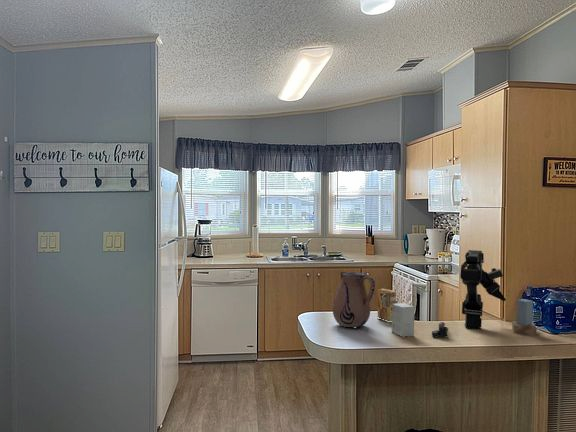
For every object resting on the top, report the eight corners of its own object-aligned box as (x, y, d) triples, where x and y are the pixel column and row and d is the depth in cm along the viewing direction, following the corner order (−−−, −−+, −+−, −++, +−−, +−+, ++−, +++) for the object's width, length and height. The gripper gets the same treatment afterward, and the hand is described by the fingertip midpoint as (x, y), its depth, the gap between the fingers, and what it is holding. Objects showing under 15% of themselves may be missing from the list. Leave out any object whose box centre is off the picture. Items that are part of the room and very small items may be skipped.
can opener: (447, 340, 191) (448, 327, 191) (430, 338, 194) (431, 325, 194) (451, 330, 207) (451, 318, 207) (435, 328, 210) (435, 316, 210)
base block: (513, 334, 204) (514, 325, 204) (512, 329, 212) (512, 321, 212) (536, 336, 201) (536, 327, 200) (533, 331, 209) (533, 323, 209)
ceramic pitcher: (343, 319, 223) (344, 269, 223) (383, 326, 211) (384, 273, 210) (325, 326, 209) (326, 273, 209) (366, 334, 197) (367, 277, 196)
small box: (414, 336, 196) (414, 306, 196) (401, 337, 194) (402, 307, 193) (403, 331, 203) (404, 302, 203) (391, 332, 201) (392, 303, 201)
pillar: (525, 326, 203) (526, 302, 202) (516, 323, 207) (517, 299, 206) (531, 324, 205) (532, 300, 205) (522, 322, 209) (523, 298, 209)
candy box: (396, 322, 220) (396, 291, 220) (389, 323, 218) (390, 291, 218) (382, 318, 228) (383, 288, 227) (376, 319, 225) (377, 288, 225)
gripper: (495, 265, 207) (520, 290, 204) (489, 261, 225) (513, 284, 222) (476, 281, 210) (501, 306, 206) (472, 275, 227) (495, 299, 224)
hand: (503, 298), depth 215 cm, fingers open, 9 cm apart
